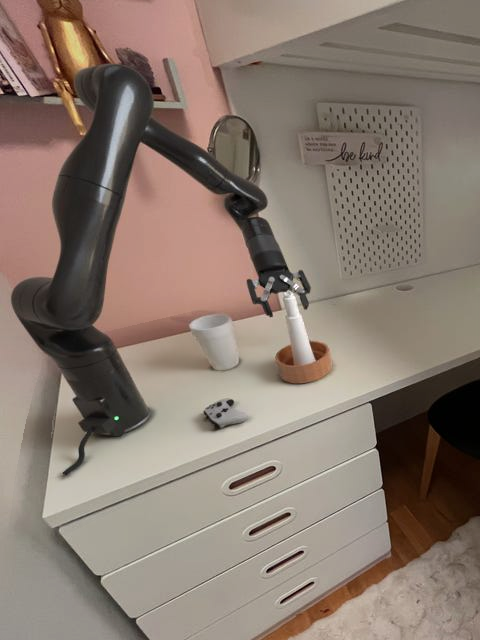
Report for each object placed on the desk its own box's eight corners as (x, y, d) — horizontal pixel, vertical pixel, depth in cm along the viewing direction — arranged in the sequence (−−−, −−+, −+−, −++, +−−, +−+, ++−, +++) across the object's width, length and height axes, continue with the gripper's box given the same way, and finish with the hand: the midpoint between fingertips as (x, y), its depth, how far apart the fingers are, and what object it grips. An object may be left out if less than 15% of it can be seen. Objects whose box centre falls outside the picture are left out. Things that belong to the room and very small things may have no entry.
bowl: (319, 386, 102) (315, 368, 99) (270, 382, 103) (264, 364, 100) (339, 359, 113) (336, 342, 110) (295, 356, 114) (290, 339, 111)
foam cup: (249, 365, 109) (235, 323, 103) (211, 377, 104) (193, 333, 97) (239, 351, 115) (225, 310, 108) (202, 362, 110) (185, 320, 103)
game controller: (251, 416, 90) (225, 410, 85) (238, 437, 90) (211, 432, 85) (234, 398, 96) (208, 391, 91) (222, 417, 95) (195, 412, 90)
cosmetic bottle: (292, 366, 109) (272, 291, 97) (315, 360, 112) (298, 286, 100) (297, 377, 104) (276, 300, 93) (320, 371, 107) (303, 295, 96)
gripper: (235, 253, 98) (258, 313, 96) (296, 245, 105) (318, 300, 103) (238, 268, 104) (259, 324, 102) (294, 259, 111) (315, 311, 110)
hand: (289, 312), depth 103 cm, fingers open, 8 cm apart
